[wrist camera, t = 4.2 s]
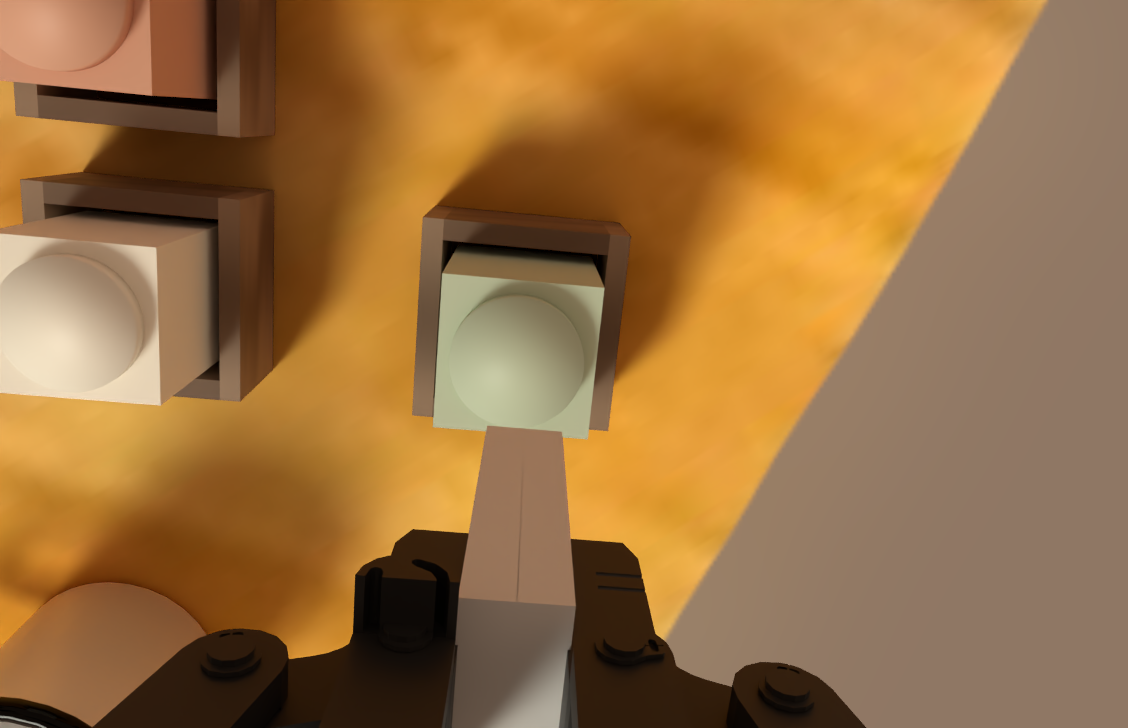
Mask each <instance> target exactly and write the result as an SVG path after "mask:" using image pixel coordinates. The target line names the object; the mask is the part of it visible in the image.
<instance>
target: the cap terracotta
mask: <svg viewBox="0 0 1128 728" xmlns="http://www.w3.org/2000/svg"><path fill="white" fill-rule="evenodd" d="M0 80H1V81H11V82H21V83H31V84H41V85H51V86H61V87H71V88H81V89H91V90H101V91H111V92H121V93H131V94H141V95H151V96H167V97H184V98H202V99H217V4H216V0H0Z"/></svg>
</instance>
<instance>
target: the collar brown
mask: <svg viewBox="0 0 1128 728" xmlns="http://www.w3.org/2000/svg"><path fill="white" fill-rule="evenodd" d="M216 4H217V110H215V109H205V108H195V107H185V106H175V105H165V104H155V103H145V102H135V101H125V100H115V99H105V98H98V94H97V90H91V89H81V88H71V87H61V86H51V85H41V84H31V83H21V82H14V94H15V109H16V116H24V117H35V118H45V119H55V120H65V121H76V122H86V123H96V124H106V125H116V126H127V127H137V128H147V129H157V130H168V131H178V132H188V133H198V134H208V135H219V136H229V137H239V138H241V137H255V136H270V135H275V47H276V0H216Z"/></svg>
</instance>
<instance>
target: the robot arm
mask: <svg viewBox="0 0 1128 728" xmlns="http://www.w3.org/2000/svg"><path fill="white" fill-rule="evenodd" d="M92 728H866V727H865V726H864V725H863V724H862V722H861V721H860V720H859V719H858V718H857V717H856V716H855V715H854V714H853V712H852V711H851V710H850V709H849V708H848V706H847V705H846V704H845V703H844V702H843V701H842V700H841V699H840V698H839V696H838V695H837V694H836V693H835V692H834V691H833V689H831V688H830V687H829V686H828V685H827V684H826V683H824V682H823V681H822V680H820V678H818V677H817V676H814V675H812V674H810V673H808V672H806V671H804V670H802V669H801V668H798V667H795V666H792V665H788V664H783V663H770V662H759V663H755V664H751V665H747V666H744V668H742V669H741V670H739V671H738V672H737V673H736V674H735V677H734V681H733V685H732V687H730V686H726V685H723V684H719V683H715V682H712V681H708V680H705V679H702V678H699V677H696V676H694V675H691V674H689V673H688V672H686V671H684V670H682V669H680V668H678V667H677V666H676V664H675V660H674V656H673V653H672V651H671V650H670V648H669V646H668V644H667V643H666V642H665V641H664V640H663V639H661V638H660V637H659V636H657V635H656V634H655V631H654V626H653V622H652V618H651V613H650V609H649V605H648V600H647V596H646V593H645V587H644V583H643V579H642V574H641V570H640V566H639V561H638V558H637V557H636V556H635V555H634V554H633V553H632V552H631V551H630V550H629V549H628V548H627V547H626V546H625V545H624V544H623V543H617V542H603V541H590V540H577V539H570V526H569V513H568V500H567V487H566V475H565V462H564V449H563V436H562V432H560V431H548V430H536V429H524V428H511V427H499V426H487V429H486V435H485V441H484V447H483V453H482V459H481V465H480V471H479V476H478V482H477V488H476V494H475V500H474V506H473V512H472V518H471V523H470V529H469V534H468V533H455V532H442V531H429V530H415V529H413V530H411V531H410V532H409V533H407V534H406V535H405V536H403V537H402V538H401V539H400V540H398V541H397V542H396V543H395V545H394V548H393V551H392V554H391V556H386V557H382V558H377V559H375V560H373V561H371V562H369V563H367V564H365V565H363V566H362V568H361V569H360V570H359V571H358V572H357V574H356V575H355V597H354V623H353V634H352V637H351V640H350V643H349V644H348V645H346V646H345V647H343V648H340V649H338V650H335V651H332V652H329V653H326V654H321V655H316V656H310V657H303V658H295V659H288V652H287V646H286V645H285V644H284V643H283V642H282V641H281V640H280V639H279V638H278V637H277V636H274V635H271V634H269V633H266V632H263V631H260V630H250V629H233V630H230V629H229V630H223V631H218V632H215V633H212V634H209V635H206V636H203V637H200V638H198V639H196V640H194V641H193V642H191V643H190V644H188V645H187V646H185V647H183V648H182V649H181V650H180V651H178V652H177V653H176V654H175V655H174V656H173V657H172V658H170V659H169V660H168V661H167V662H166V663H165V664H164V665H162V666H161V667H160V668H159V669H158V670H157V671H156V672H155V673H153V674H152V675H151V676H150V677H149V678H148V679H147V680H145V681H144V682H143V683H142V684H141V685H140V686H139V687H137V688H136V689H135V690H134V691H133V692H132V693H131V694H129V695H128V696H127V697H126V698H125V699H124V700H123V701H121V702H120V703H119V704H118V705H117V706H116V707H115V708H113V709H112V710H111V711H110V712H109V713H108V714H107V715H105V716H104V717H103V718H102V719H101V720H100V721H99V722H98V723H96V724H95V725H94V726H93V727H92Z"/></svg>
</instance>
